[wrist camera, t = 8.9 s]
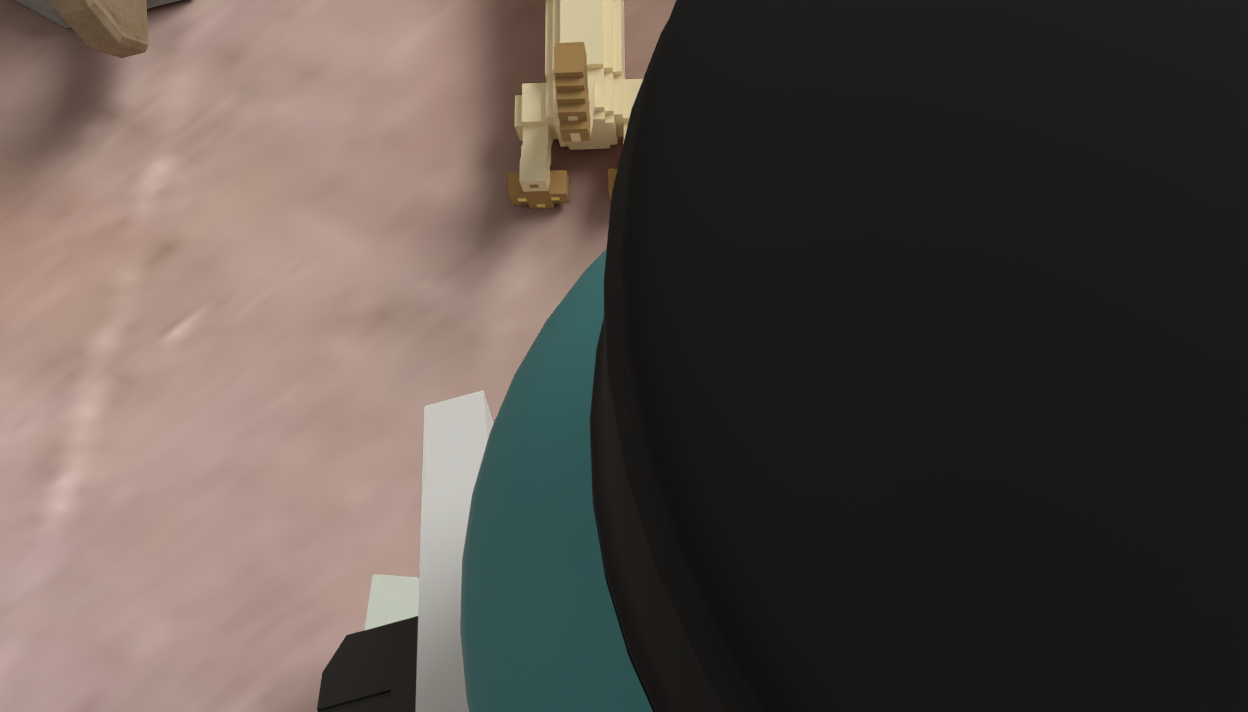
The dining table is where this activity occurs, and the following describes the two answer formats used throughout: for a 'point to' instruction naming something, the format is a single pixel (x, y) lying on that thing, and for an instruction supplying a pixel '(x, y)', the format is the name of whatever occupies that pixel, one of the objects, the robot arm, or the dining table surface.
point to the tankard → (102, 22)
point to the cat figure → (572, 97)
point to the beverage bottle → (892, 377)
